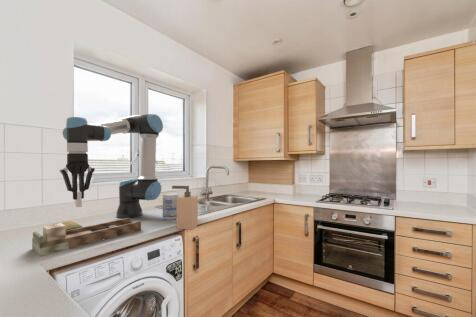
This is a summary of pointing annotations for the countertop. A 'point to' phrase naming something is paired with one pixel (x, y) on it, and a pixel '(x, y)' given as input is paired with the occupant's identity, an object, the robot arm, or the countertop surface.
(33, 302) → the countertop surface
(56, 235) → the block
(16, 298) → the countertop surface
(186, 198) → the soap dispenser
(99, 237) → the tray
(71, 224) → the carton
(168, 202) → the supplement tub
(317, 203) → the countertop surface
